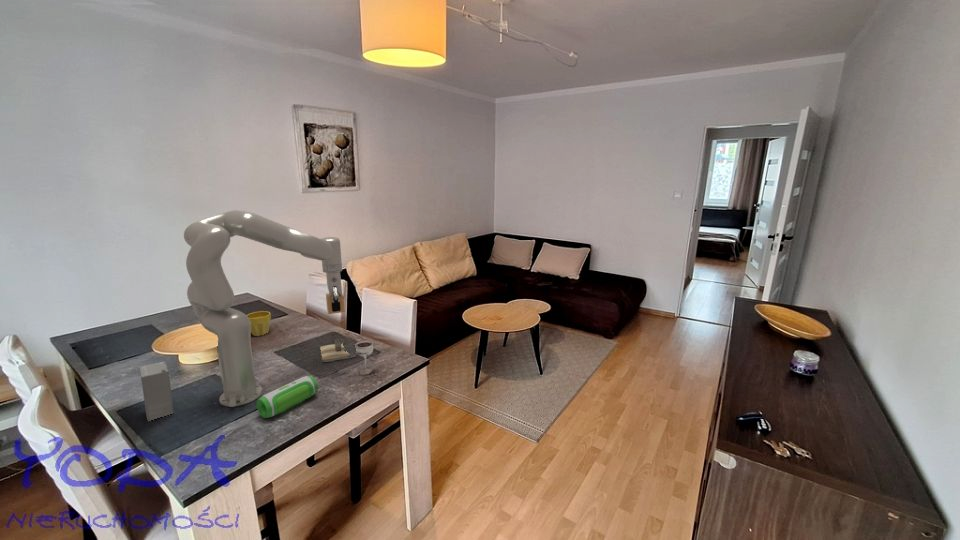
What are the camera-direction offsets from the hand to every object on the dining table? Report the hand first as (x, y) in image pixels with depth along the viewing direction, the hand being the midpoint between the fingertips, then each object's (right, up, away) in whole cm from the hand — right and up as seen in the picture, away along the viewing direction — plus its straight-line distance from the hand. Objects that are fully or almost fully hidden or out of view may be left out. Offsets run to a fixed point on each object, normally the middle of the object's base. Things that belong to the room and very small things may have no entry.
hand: (335, 308), depth 157 cm
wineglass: (+16, -24, -10) cm, 31 cm away
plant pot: (-46, -15, +23) cm, 53 cm away
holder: (-1, -20, +5) cm, 21 cm away
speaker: (-3, -30, -32) cm, 44 cm away
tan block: (0, -1, 0) cm, 1 cm away
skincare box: (-41, -30, -38) cm, 64 cm away
